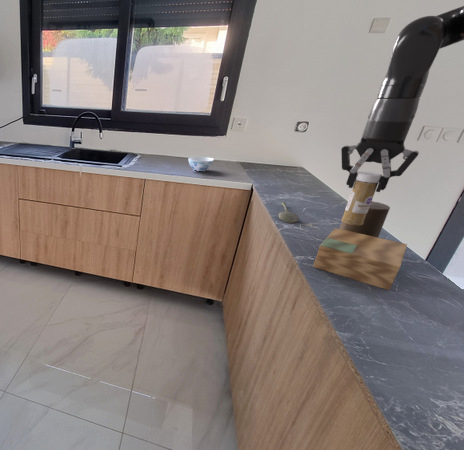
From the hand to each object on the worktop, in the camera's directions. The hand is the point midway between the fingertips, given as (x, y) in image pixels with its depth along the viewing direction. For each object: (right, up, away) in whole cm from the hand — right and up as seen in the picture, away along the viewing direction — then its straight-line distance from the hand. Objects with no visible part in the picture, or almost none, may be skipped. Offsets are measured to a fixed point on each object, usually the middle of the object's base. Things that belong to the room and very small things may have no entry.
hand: (364, 188), depth 79 cm
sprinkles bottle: (0, -9, +4) cm, 10 cm away
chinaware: (+11, +26, +121) cm, 124 cm away
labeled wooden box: (+8, -21, +11) cm, 25 cm away
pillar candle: (+20, -15, +24) cm, 35 cm away
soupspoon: (+16, -5, +50) cm, 52 cm away
